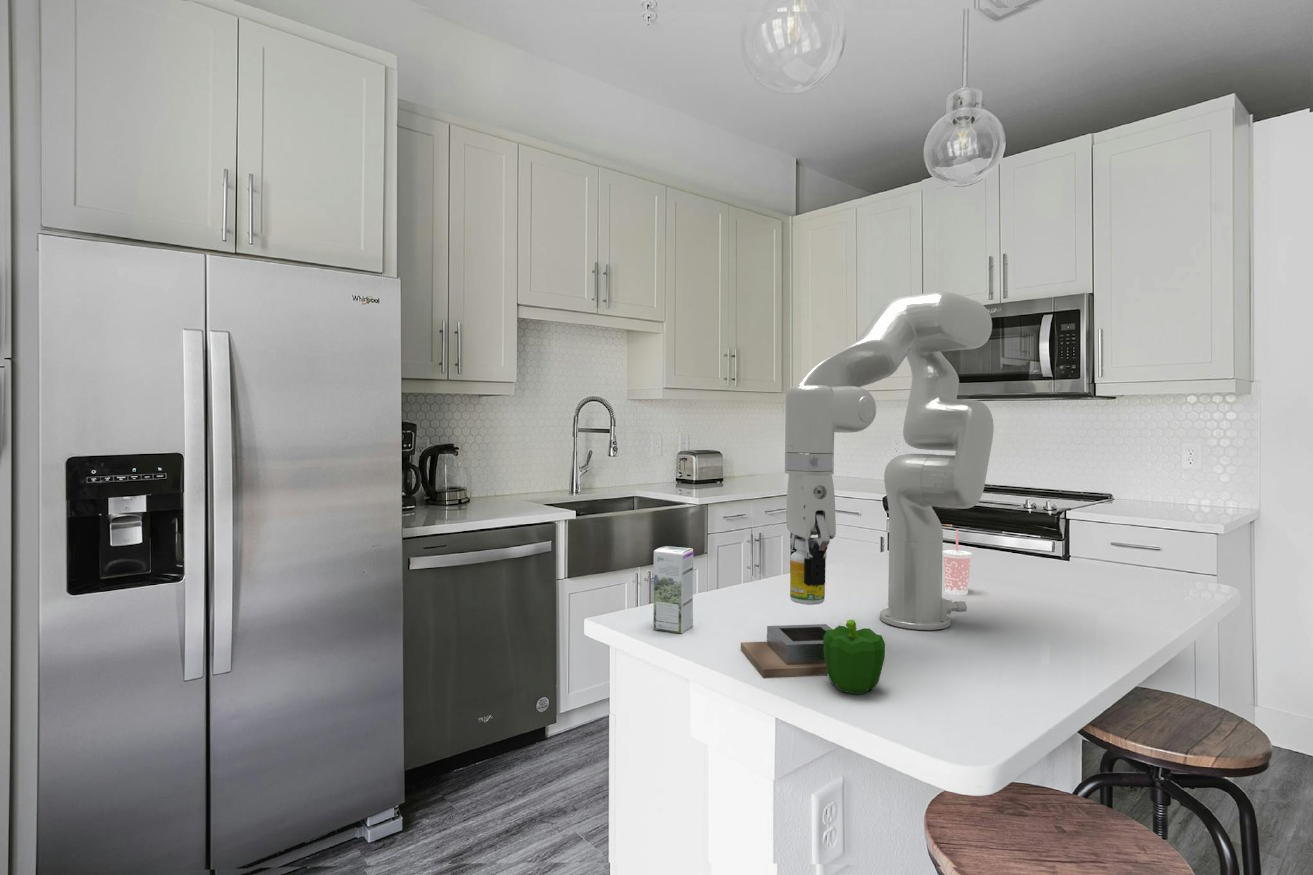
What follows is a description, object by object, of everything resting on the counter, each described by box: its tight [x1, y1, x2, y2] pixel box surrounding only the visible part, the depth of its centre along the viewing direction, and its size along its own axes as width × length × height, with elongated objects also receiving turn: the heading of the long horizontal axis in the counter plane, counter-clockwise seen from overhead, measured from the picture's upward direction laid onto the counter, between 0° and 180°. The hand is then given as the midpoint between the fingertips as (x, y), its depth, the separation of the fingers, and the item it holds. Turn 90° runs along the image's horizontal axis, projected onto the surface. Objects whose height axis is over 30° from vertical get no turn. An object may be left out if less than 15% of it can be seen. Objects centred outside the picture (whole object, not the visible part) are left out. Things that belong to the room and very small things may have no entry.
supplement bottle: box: [789, 538, 826, 606], centre depth 111 cm, size 5×5×10 cm
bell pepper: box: [823, 619, 886, 695], centre depth 100 cm, size 8×8×10 cm
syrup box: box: [653, 545, 694, 634], centre depth 129 cm, size 6×6×14 cm
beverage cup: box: [943, 529, 973, 596], centre depth 158 cm, size 6×6×14 cm
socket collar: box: [766, 623, 834, 665], centre depth 112 cm, size 10×10×3 cm
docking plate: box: [740, 640, 828, 679], centre depth 112 cm, size 18×13×1 cm
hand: (807, 579), depth 111 cm, fingers closed on supplement bottle, 5 cm apart
